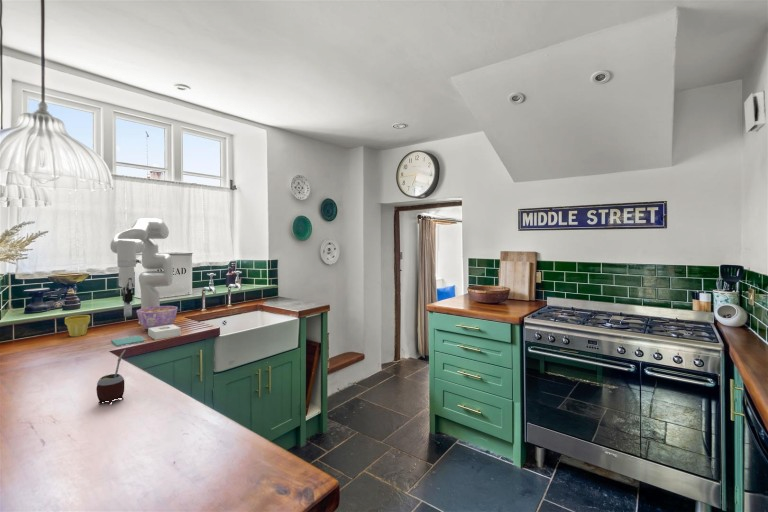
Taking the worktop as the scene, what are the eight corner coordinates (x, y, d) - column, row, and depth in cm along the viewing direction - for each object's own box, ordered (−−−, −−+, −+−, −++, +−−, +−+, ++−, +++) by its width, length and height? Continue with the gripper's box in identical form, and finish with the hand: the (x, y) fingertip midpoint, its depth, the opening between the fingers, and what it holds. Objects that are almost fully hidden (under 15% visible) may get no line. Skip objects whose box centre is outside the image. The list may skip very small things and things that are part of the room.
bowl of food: (146, 335, 192) (146, 314, 191) (130, 330, 203) (129, 309, 202) (184, 328, 208) (184, 308, 208) (167, 323, 219) (167, 304, 219)
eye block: (148, 335, 192) (148, 328, 191) (173, 331, 201) (172, 324, 200) (155, 339, 184) (155, 332, 183) (180, 335, 192) (180, 328, 192)
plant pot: (91, 331, 199) (91, 314, 199) (89, 335, 190) (88, 317, 190) (67, 334, 193) (66, 316, 193) (63, 338, 185) (62, 319, 184)
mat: (111, 341, 180) (111, 340, 180) (139, 337, 189) (139, 335, 189) (117, 346, 172) (116, 344, 172) (146, 341, 181) (146, 339, 181)
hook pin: (123, 316, 179) (122, 290, 179) (131, 315, 182) (130, 289, 181) (124, 316, 177) (124, 290, 177) (132, 316, 180) (132, 290, 179)
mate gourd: (95, 408, 109) (94, 360, 108) (98, 399, 116) (97, 353, 115) (126, 402, 113) (124, 355, 113) (127, 393, 120) (125, 349, 119)
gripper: (113, 263, 181) (114, 300, 182) (121, 265, 170) (122, 303, 171) (131, 263, 187) (132, 298, 187) (140, 264, 176) (141, 302, 176)
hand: (127, 300), depth 179 cm, fingers closed on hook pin, 3 cm apart
